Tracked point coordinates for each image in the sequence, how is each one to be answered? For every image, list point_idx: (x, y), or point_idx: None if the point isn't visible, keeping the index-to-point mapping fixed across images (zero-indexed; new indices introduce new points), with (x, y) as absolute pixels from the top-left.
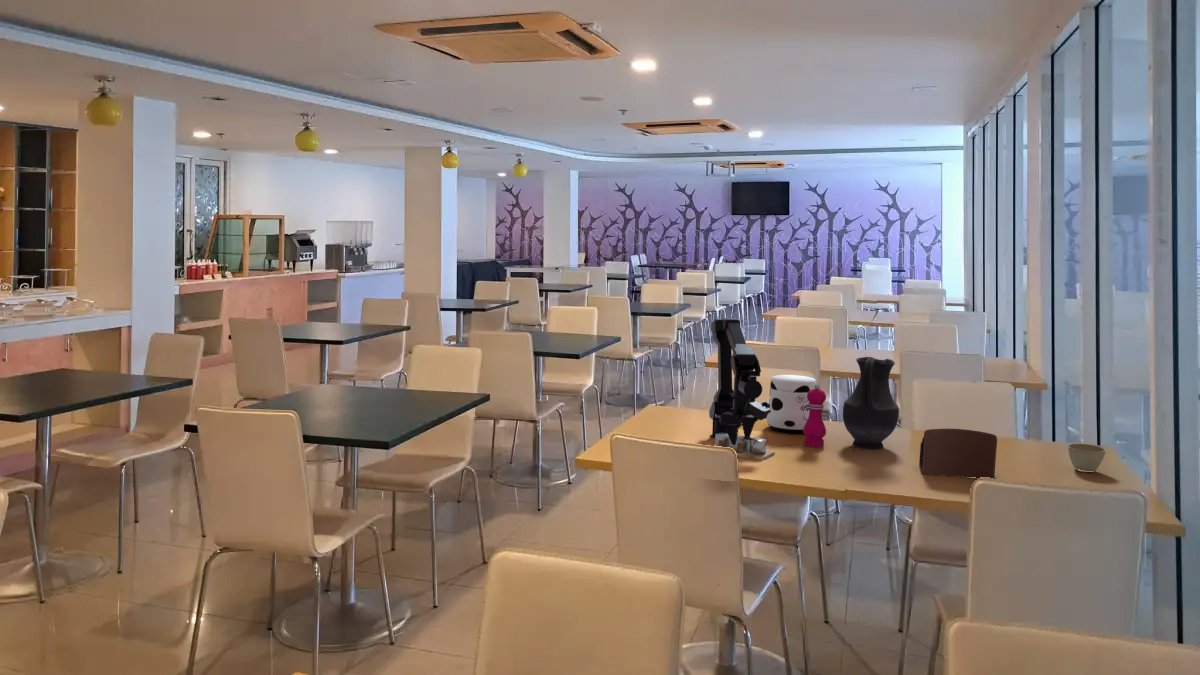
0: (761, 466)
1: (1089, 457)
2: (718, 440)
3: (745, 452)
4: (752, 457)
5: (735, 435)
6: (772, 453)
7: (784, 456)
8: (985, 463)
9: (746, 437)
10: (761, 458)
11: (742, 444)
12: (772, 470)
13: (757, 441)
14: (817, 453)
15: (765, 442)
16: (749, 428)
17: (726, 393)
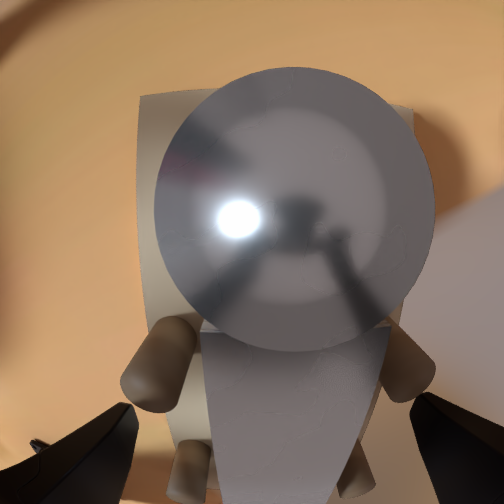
0: (494, 92)
1: None
2: (364, 490)
3: None
4: None
5: (501, 431)
6: (185, 93)
7: (159, 28)
8: None
9: (256, 427)
10: (408, 115)
11: (407, 355)
12: (496, 39)
13: (412, 189)
14: (21, 4)
15: (315, 75)
16: (79, 488)
17: None
